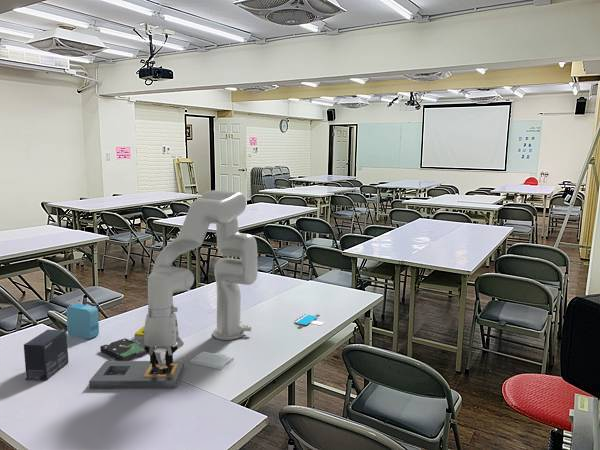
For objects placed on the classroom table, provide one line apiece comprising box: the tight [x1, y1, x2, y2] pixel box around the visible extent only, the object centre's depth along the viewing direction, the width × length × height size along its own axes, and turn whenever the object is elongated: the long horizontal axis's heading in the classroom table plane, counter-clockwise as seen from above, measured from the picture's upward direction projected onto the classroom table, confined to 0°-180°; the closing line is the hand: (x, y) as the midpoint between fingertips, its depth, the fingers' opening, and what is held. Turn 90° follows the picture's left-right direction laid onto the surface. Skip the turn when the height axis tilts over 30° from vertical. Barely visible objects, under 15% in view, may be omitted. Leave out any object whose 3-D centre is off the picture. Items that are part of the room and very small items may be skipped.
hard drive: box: [190, 351, 234, 370], centre depth 158 cm, size 2×8×12 cm
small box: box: [23, 329, 69, 381], centre depth 146 cm, size 13×7×12 cm, turn 178°
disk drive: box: [100, 337, 149, 361], centre depth 163 cm, size 10×3×15 cm
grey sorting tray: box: [88, 360, 186, 390], centre depth 144 cm, size 26×14×3 cm, turn 94°
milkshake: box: [154, 347, 169, 375], centre depth 144 cm, size 4×5×10 cm
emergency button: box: [130, 325, 145, 342], centre depth 177 cm, size 9×4×15 cm
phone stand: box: [294, 313, 325, 329], centre depth 200 cm, size 20×12×2 cm, turn 152°
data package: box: [66, 303, 100, 340], centre depth 176 cm, size 12×4×12 cm, turn 69°
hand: (161, 364), depth 144 cm, fingers closed on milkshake, 4 cm apart
